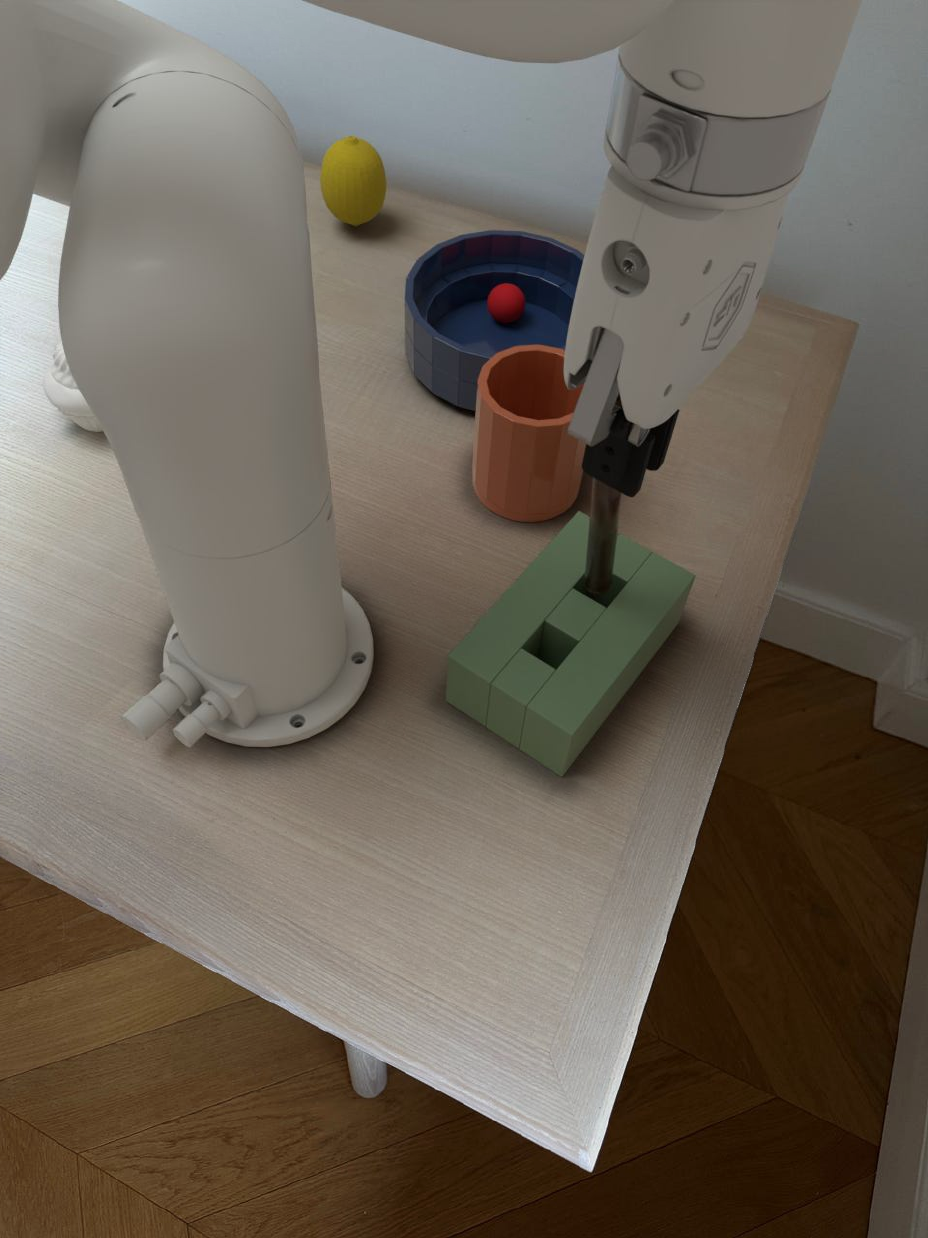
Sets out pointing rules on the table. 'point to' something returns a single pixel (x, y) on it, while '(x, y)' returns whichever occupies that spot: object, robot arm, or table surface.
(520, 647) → the holder
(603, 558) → the stick
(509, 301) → the berry
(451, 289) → the bowl
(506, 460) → the crock
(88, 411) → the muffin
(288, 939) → the table surface
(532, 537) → the table surface
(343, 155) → the lemon
